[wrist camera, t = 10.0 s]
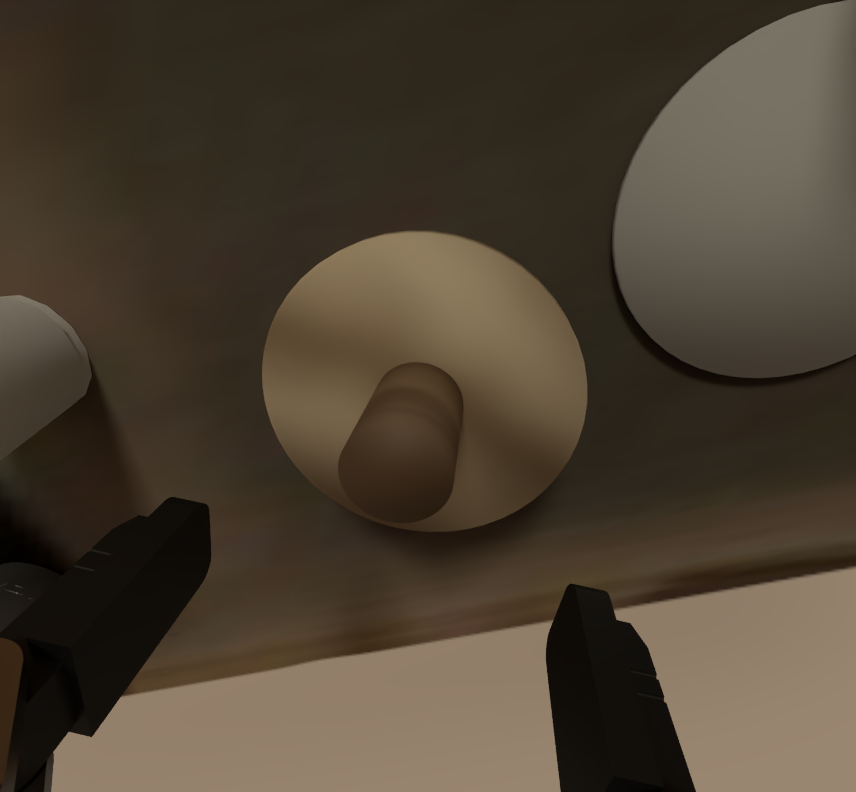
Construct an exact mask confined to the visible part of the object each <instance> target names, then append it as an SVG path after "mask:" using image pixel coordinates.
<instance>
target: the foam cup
mask: <svg viewBox="0 0 856 792" xmlns="http://www.w3.org/2000/svg"><path fill="white" fill-rule="evenodd" d="M91 377H92V373H91V368H90V363H89V358H88V353H87V350H86V348H85V347H84V345H83V344H82V342H81V340H80V339H79V337H78V336H77V334H76V332H75V331H74V329H73V328H72V326H71V325H70V324H68V323H67V322H66V321H65V320H64V319H63V318H61V317H60V316H59V315H58V314H57V313H55V312H54V311H53V310H52V309H51V308H50V307H48V306H47V305H44V304H42V303H39V302H36V301H34V300H31V299H29V298H26V297H24V296H21V295H17V296H3V297H0V460H2V459H3V458H4V457H6V456H7V455H8V454H10V453H11V452H12V451H14V450H15V449H16V448H17V447H19V446H20V445H21V444H23V443H24V442H25V441H27V440H28V439H29V438H30V437H32V436H33V435H34V434H36V433H37V432H38V431H40V430H41V429H42V428H43V427H45V426H46V425H47V424H49V423H50V422H51V421H53V420H54V419H55V418H57V417H58V416H59V415H60V414H62V413H63V412H64V411H66V410H67V409H68V408H70V407H71V406H72V405H73V404H75V403H76V402H77V401H78V400H79V399H80V398H82V397H83V396H85V395H86V392H87V389H88V386H89V383H90V380H91Z"/></svg>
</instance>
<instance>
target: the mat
mask: <svg viewBox="0 0 856 792" xmlns="http://www.w3.org/2000/svg"><path fill="white" fill-rule="evenodd" d="M612 255H613V264H614V270H615V274H616V278H617V282H618V286H619V289H620V291H621V294H622V296H623V298H624V301H625V303H626V305H627V307H628V308H629V310H630V312H631V313H632V315H633V317H634V318H635V320H636V321H637V322H638V324H639V325H640V326H641V327H642V328H643V329H644V331H645V332H646V333H647V334H648V335H649V336H650V337H651V338H652V339H653V340H654V341H655V342H656V343H658V344H659V345H660V346H661V347H662V348H663V349H664V350H666V351H667V352H669V353H670V354H672V355H673V356H675V357H677V358H678V359H680V360H681V361H684V362H686V363H688V364H690V365H692V366H695V367H697V368H699V369H703V370H706V371H709V372H713V373H716V374H721V375H727V376H733V377H744V378H768V377H782V376H787V375H793V374H799V373H804V372H808V371H811V370H815V369H819V368H822V367H826V366H828V365H831V364H834V363H836V362H839V361H841V360H844V359H847V358H849V357H851V356H853V355H855V354H856V0H846V1H841V2H836V3H830V4H825V5H820V6H816V7H813V8H810V9H807V10H804V11H801V12H798V13H795V14H792V15H789V16H787V17H785V18H782V19H780V20H778V21H776V22H774V23H771V24H769V25H767V26H765V27H763V28H761V29H759V30H757V31H755V32H753V33H751V34H750V35H748V36H747V37H745V38H743V39H742V40H740V41H738V42H737V43H735V44H733V45H732V46H730V47H728V48H727V49H725V50H724V51H723V52H721V53H720V54H719V55H717V56H716V57H715V58H713V59H712V60H711V61H709V62H708V63H707V64H706V65H704V66H703V67H702V68H700V69H699V70H698V71H697V72H696V73H695V74H694V75H693V76H692V77H691V78H690V79H689V80H688V81H687V82H686V83H685V84H684V85H683V86H681V87H680V88H679V90H678V91H677V92H676V93H675V94H674V95H673V97H672V98H671V99H670V100H669V101H668V102H667V104H666V105H665V106H664V107H663V108H662V109H661V111H660V112H659V113H658V115H657V116H656V118H655V119H654V121H653V122H652V124H651V125H650V126H649V128H648V129H647V131H646V132H645V134H644V136H643V137H642V139H641V141H640V143H639V145H638V147H637V149H636V150H635V152H634V154H633V156H632V158H631V160H630V163H629V165H628V168H627V170H626V173H625V175H624V178H623V180H622V183H621V187H620V190H619V194H618V198H617V201H616V205H615V212H614V219H613V225H612Z"/></svg>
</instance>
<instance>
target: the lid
mask: <svg viewBox="0 0 856 792" xmlns="http://www.w3.org/2000/svg"><path fill="white" fill-rule="evenodd" d="M262 382H263V392H264V398H265V404H266V408H267V411H268V415H269V418H270V421H271V424H272V426H273V428H274V431H275V433H276V435H277V437H278V440H279V441H280V443H281V445H282V446H283V448H284V450H285V452H286V453H287V455H288V456H289V458H290V459H291V460H292V462H293V463H294V464H295V466H296V467H297V468H298V469H299V471H300V472H301V473H302V474H303V475H304V476H305V477H306V478H307V479H308V480H309V481H310V482H311V483H312V484H313V485H314V486H315V487H316V488H318V489H319V490H320V491H321V492H322V493H324V494H325V495H326V496H327V497H329V498H330V499H332V500H333V501H335V502H336V503H338V504H339V505H341V506H342V507H344V508H346V509H348V510H350V511H352V512H354V513H355V514H357V515H360V516H362V517H364V518H367V519H369V520H372V521H374V522H377V523H381V524H384V525H387V526H391V527H395V528H400V529H406V530H411V531H423V532H449V531H457V530H465V529H469V528H474V527H478V526H482V525H485V524H488V523H491V522H494V521H496V520H499V519H502V518H504V517H506V516H508V515H510V514H512V513H514V512H516V511H518V510H519V509H521V508H522V507H524V506H525V505H527V504H528V503H530V502H531V501H533V500H534V499H535V498H536V497H537V496H539V495H540V494H541V493H542V492H543V491H544V490H546V489H547V488H548V487H549V485H550V484H551V483H552V482H553V481H554V480H555V479H556V478H557V476H558V475H559V474H560V473H561V471H562V470H563V468H564V467H565V465H566V464H567V462H568V461H569V459H570V457H571V455H572V453H573V451H574V449H575V447H576V445H577V443H578V440H579V437H580V434H581V431H582V428H583V424H584V420H585V413H586V407H587V378H586V371H585V364H584V360H583V356H582V353H581V350H580V347H579V343H578V340H577V338H576V336H575V334H574V332H573V330H572V328H571V326H570V323H569V321H568V319H567V317H566V315H565V313H564V312H563V310H562V309H561V307H560V306H559V304H558V303H557V301H556V300H555V298H554V297H553V295H552V294H551V293H550V291H549V290H548V289H547V288H546V287H545V286H544V285H543V284H542V283H541V281H540V280H539V279H538V278H537V277H536V276H535V275H533V274H532V273H531V272H530V271H529V270H528V269H526V268H525V267H524V266H523V265H522V264H520V263H519V262H518V261H516V260H514V259H513V258H511V257H510V256H508V255H506V254H505V253H503V252H502V251H500V250H498V249H496V248H494V247H491V246H489V245H487V244H485V243H483V242H480V241H478V240H475V239H471V238H468V237H464V236H461V235H458V234H453V233H446V232H439V231H433V230H407V231H400V232H392V233H386V234H382V235H378V236H375V237H371V238H368V239H365V240H362V241H360V242H358V243H355V244H353V245H351V246H349V247H346V248H344V249H342V250H340V251H338V252H336V253H335V254H333V255H332V256H330V257H329V258H327V259H325V260H324V261H322V262H321V263H319V264H318V265H316V266H315V267H314V268H313V269H312V270H311V271H309V272H308V273H307V274H306V275H305V276H304V277H302V278H301V280H300V281H299V282H298V283H297V284H296V285H295V287H294V288H293V289H292V290H291V291H290V292H289V293H288V295H287V296H286V298H285V300H284V301H283V303H282V304H281V306H280V308H279V309H278V311H277V313H276V315H275V318H274V320H273V322H272V325H271V327H270V329H269V333H268V336H267V340H266V344H265V348H264V355H263V364H262Z"/></svg>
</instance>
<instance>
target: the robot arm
mask: <svg viewBox="0 0 856 792" xmlns="http://www.w3.org/2000/svg"><path fill="white" fill-rule="evenodd" d="M210 561H211V537H210V515H209V508H208V506H207V505H206V504H204V503H199V502H195V501H190V500H185V499H181V498H176V497H170V498H168V499H166V500H165V501H164V502H163V503H162V504H161V505H160V506H159V507H158V508H157V509H156V510H155V511H154V512H153V513H152V514H151V515H150V516H149V517H145V516H141V515H138V516H137V517H135V518H133V519H131V520H129V521H127V522H125V523H123V524H121V525H119V526H118V527H116V528H114V529H112V530H111V531H110V532H109V533H108V534H107V535H106V536H105V537H104V538H102V539H101V540H100V541H99V542H98V543H97V544H96V545H95V546H94V547H93V548H92V551H91V552H87V553H86V554H85V555H84V556H83V557H82V558H81V559H80V560H79V561H77V562H76V563H75V566H74V568H70V569H69V570H68V571H67V572H66V573H64V574H63V575H62V576H61V575H60V574H58V573H56V572H53V571H51V570H49V569H46V568H44V567H40V566H37V565H33V564H28V563H19V562H14V563H5V564H2V565H0V792H51V785H52V773H53V763H54V754H53V751H54V750H55V749H56V747H57V746H58V745H59V743H60V742H61V741H62V740H63V738H64V737H65V736H66V734H67V733H68V732H73V733H77V734H81V735H85V736H90V737H92V736H93V735H94V733H95V732H96V731H97V729H98V728H99V726H100V725H101V723H102V722H103V721H104V719H105V718H106V717H107V715H108V714H109V712H110V711H111V710H112V708H113V707H114V705H115V704H116V703H117V701H118V700H119V698H120V697H121V696H122V694H123V693H124V691H125V690H126V689H127V687H128V686H129V685H130V683H131V682H132V680H133V679H134V678H135V676H136V675H137V673H138V672H139V671H140V669H141V668H142V666H143V665H144V664H145V662H146V661H147V659H148V658H149V657H150V655H151V654H152V652H153V651H154V650H155V648H156V647H157V645H158V644H159V643H160V641H161V640H162V638H163V637H164V636H165V634H166V633H167V632H168V630H169V629H170V627H171V626H172V625H173V623H174V622H175V620H176V619H177V618H178V616H179V615H180V613H181V612H182V611H183V609H184V608H185V606H186V605H187V604H188V602H189V601H190V599H191V598H192V597H193V595H194V594H195V592H196V591H197V590H198V588H199V587H200V585H201V584H202V582H203V581H204V579H205V577H206V574H207V572H208V569H209V566H210ZM546 664H547V674H548V683H549V692H550V701H551V709H552V718H553V727H554V736H555V745H556V753H557V762H558V771H559V780H560V789H561V792H696V790H695V788H694V785H693V782H692V779H691V776H690V773H689V770H688V767H687V764H686V761H685V758H684V755H683V752H682V749H681V746H680V743H679V740H678V737H677V734H676V731H675V728H674V725H673V722H672V719H671V716H670V713H669V710H668V707H667V704H666V703H665V702H664V695H663V692H662V689H661V686H660V683H659V680H657V679H656V675H657V674H656V671H655V668H654V665H653V662H652V659H651V656H650V653H649V650H648V648H647V646H646V645H645V643H644V642H643V640H642V639H641V638H640V636H639V635H638V634H637V632H636V631H635V629H634V628H633V626H632V625H631V624H630V623H627V622H622V621H618V620H616V617H615V613H614V610H613V606H612V603H611V599H610V596H609V594H608V593H607V592H606V591H603V590H598V589H594V588H589V587H584V586H580V585H575V584H569V585H568V586H567V588H566V590H565V593H564V595H563V598H562V600H561V603H560V605H559V608H558V610H557V613H556V615H555V618H554V621H553V623H552V626H551V628H550V632H549V634H548V639H547V647H546Z"/></svg>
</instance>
